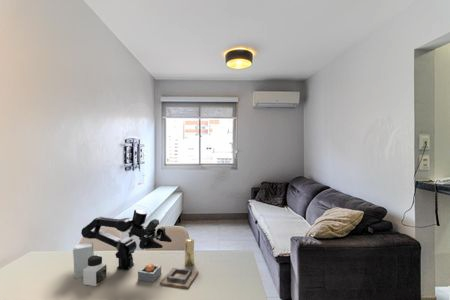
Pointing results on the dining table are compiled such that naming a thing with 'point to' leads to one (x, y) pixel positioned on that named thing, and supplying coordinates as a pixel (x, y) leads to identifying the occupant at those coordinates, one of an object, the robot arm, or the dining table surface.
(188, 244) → the brass billet
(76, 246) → the skincare box
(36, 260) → the dining table surface
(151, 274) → the button housing
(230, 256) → the dining table surface
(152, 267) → the button
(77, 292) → the dining table surface
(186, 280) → the brown board with frame
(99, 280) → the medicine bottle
